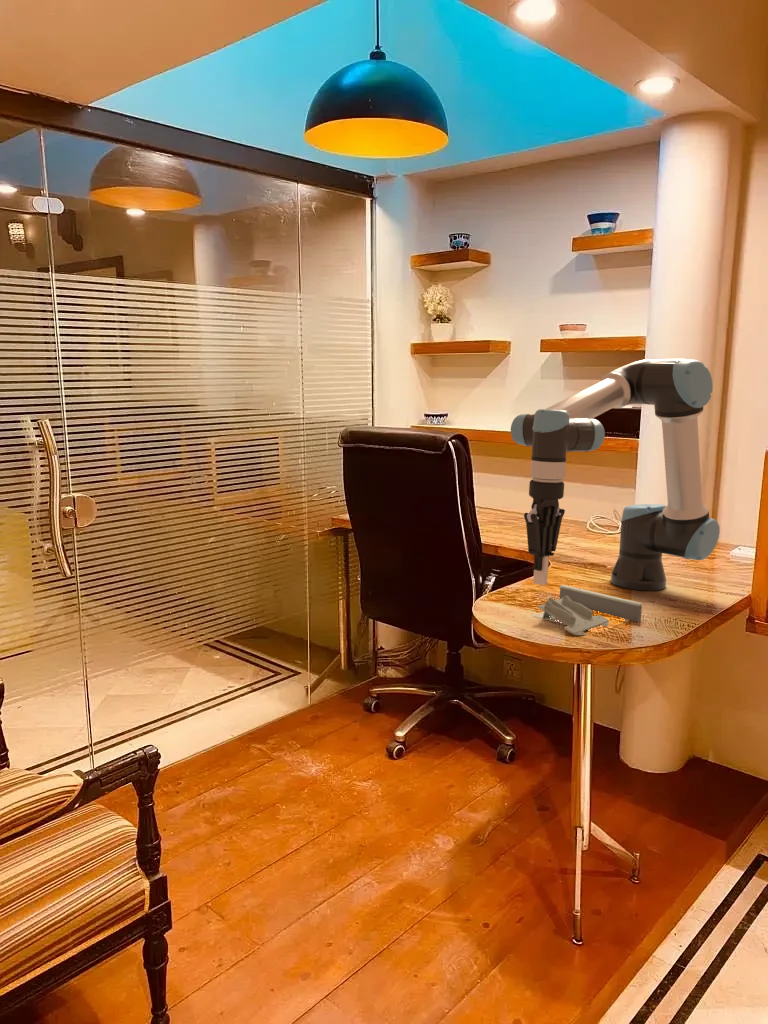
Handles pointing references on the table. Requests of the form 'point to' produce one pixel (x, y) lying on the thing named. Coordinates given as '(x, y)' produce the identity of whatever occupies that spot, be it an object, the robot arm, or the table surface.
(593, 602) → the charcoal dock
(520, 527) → the table surface
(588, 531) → the table surface
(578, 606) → the metal bracket
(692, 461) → the robot arm
